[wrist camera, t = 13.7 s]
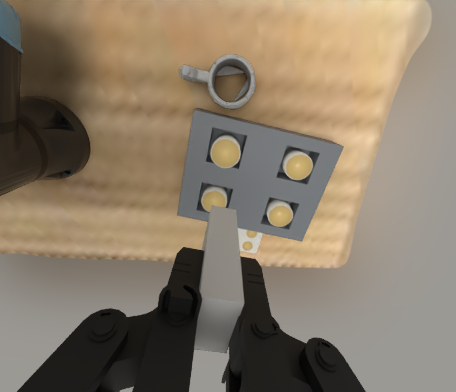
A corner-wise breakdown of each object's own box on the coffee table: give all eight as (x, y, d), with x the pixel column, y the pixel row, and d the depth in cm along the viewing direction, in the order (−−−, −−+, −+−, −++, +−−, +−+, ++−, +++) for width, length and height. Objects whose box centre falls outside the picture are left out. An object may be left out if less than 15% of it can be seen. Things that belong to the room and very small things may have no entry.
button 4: (276, 168, 44) (281, 177, 40) (283, 144, 42) (290, 150, 38) (299, 173, 45) (307, 183, 40) (307, 150, 43) (317, 157, 38)
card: (214, 243, 53) (214, 245, 52) (221, 218, 50) (220, 220, 49) (255, 252, 54) (255, 254, 53) (264, 227, 51) (264, 229, 50)
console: (182, 204, 49) (177, 215, 44) (198, 108, 41) (193, 109, 36) (295, 228, 51) (302, 241, 46) (331, 141, 43) (343, 146, 38)
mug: (248, 112, 41) (254, 117, 30) (183, 98, 40) (165, 99, 29) (258, 65, 38) (269, 52, 27) (188, 49, 37) (171, 29, 26)
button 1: (202, 199, 47) (199, 210, 43) (206, 178, 45) (203, 187, 41) (224, 204, 48) (223, 215, 43) (229, 183, 46) (229, 193, 41)
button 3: (261, 212, 48) (264, 224, 44) (268, 192, 46) (272, 202, 42) (282, 216, 49) (288, 229, 44) (290, 197, 47) (296, 208, 42)
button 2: (210, 156, 41) (207, 164, 36) (215, 130, 39) (213, 135, 34) (236, 162, 41) (236, 171, 37) (242, 136, 39) (244, 142, 35)
